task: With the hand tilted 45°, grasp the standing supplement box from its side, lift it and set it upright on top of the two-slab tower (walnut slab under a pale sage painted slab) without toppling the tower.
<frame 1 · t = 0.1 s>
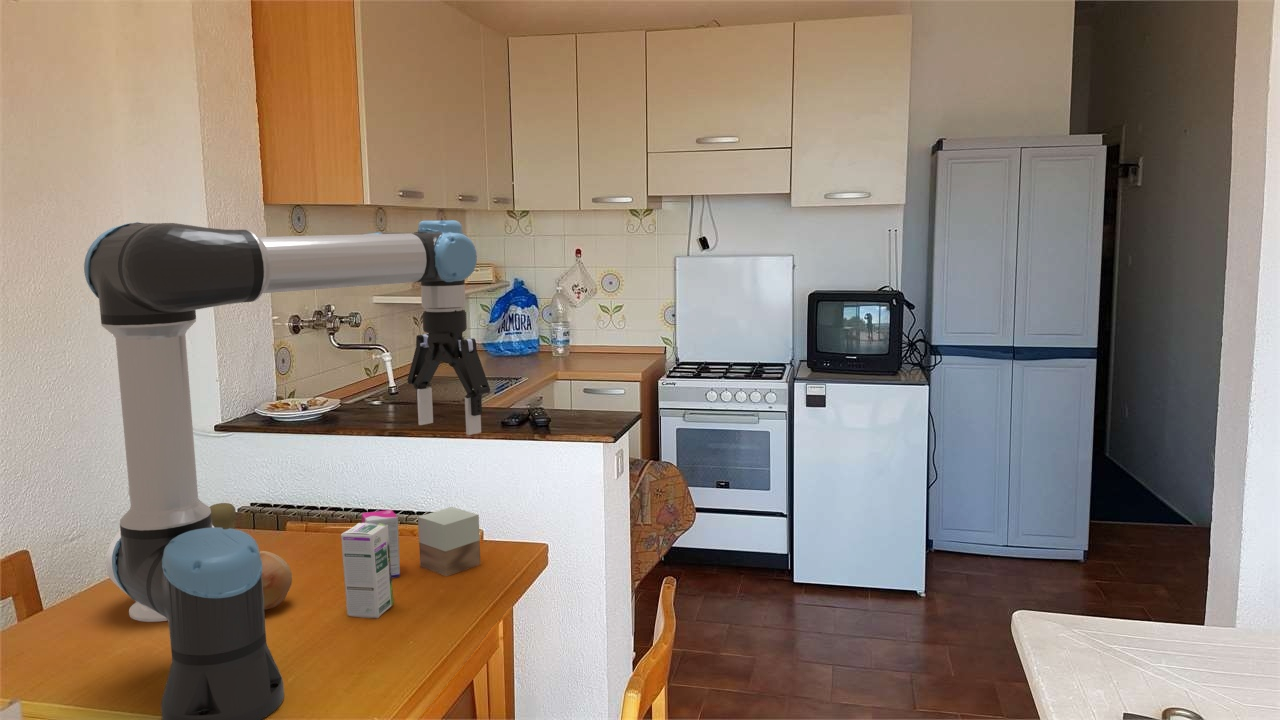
hand: (449, 428, 171), 28 cm above the table, tool pointing down, fingers open, 13 cm apart
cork: (224, 560, 187), on the table
decorative vase: (170, 607, 164), on the table
tower base slab: (450, 566, 182), on the table, touching tower top slab
supplement box: (382, 575, 178), on the table
onion: (263, 609, 163), on the table
tower top slab: (449, 541, 182), point 5 cm above the table, touching tower base slab
syrup box: (370, 612, 162), on the table
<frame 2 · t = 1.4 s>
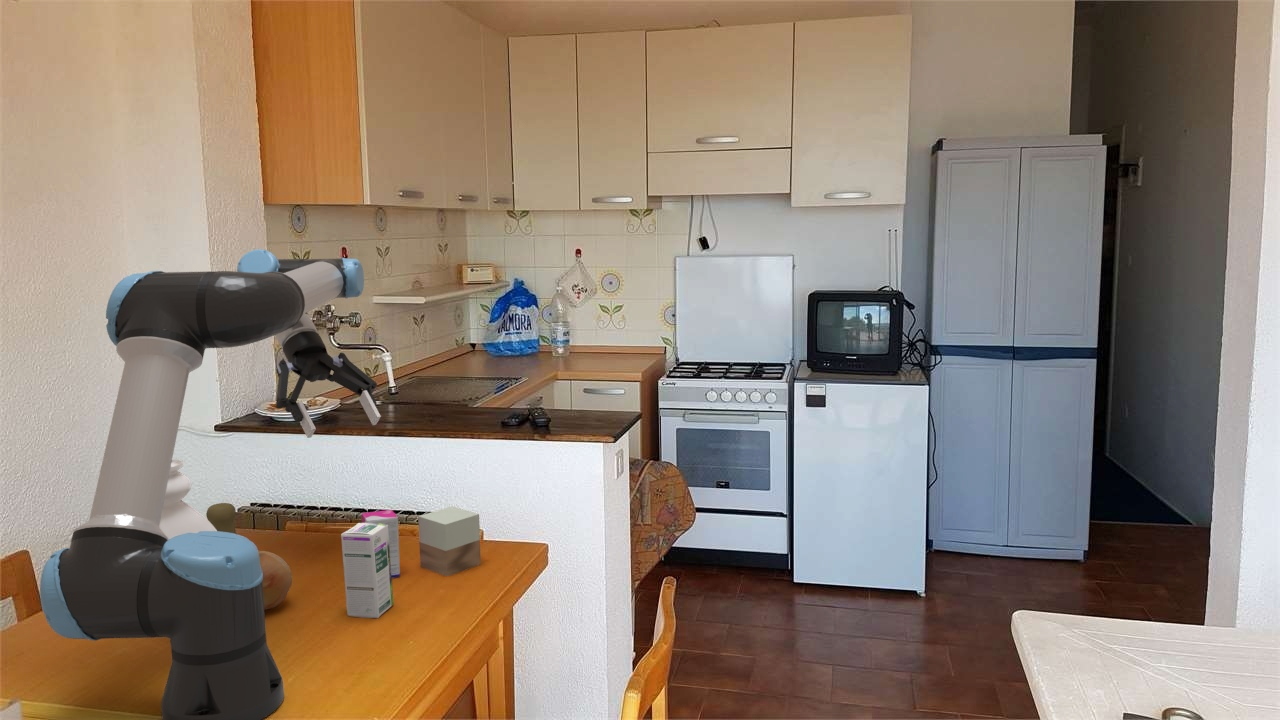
hand: (345, 427, 182), 26 cm above the table, tool tilted 45°, fingers open, 13 cm apart
nothing on the table moved.
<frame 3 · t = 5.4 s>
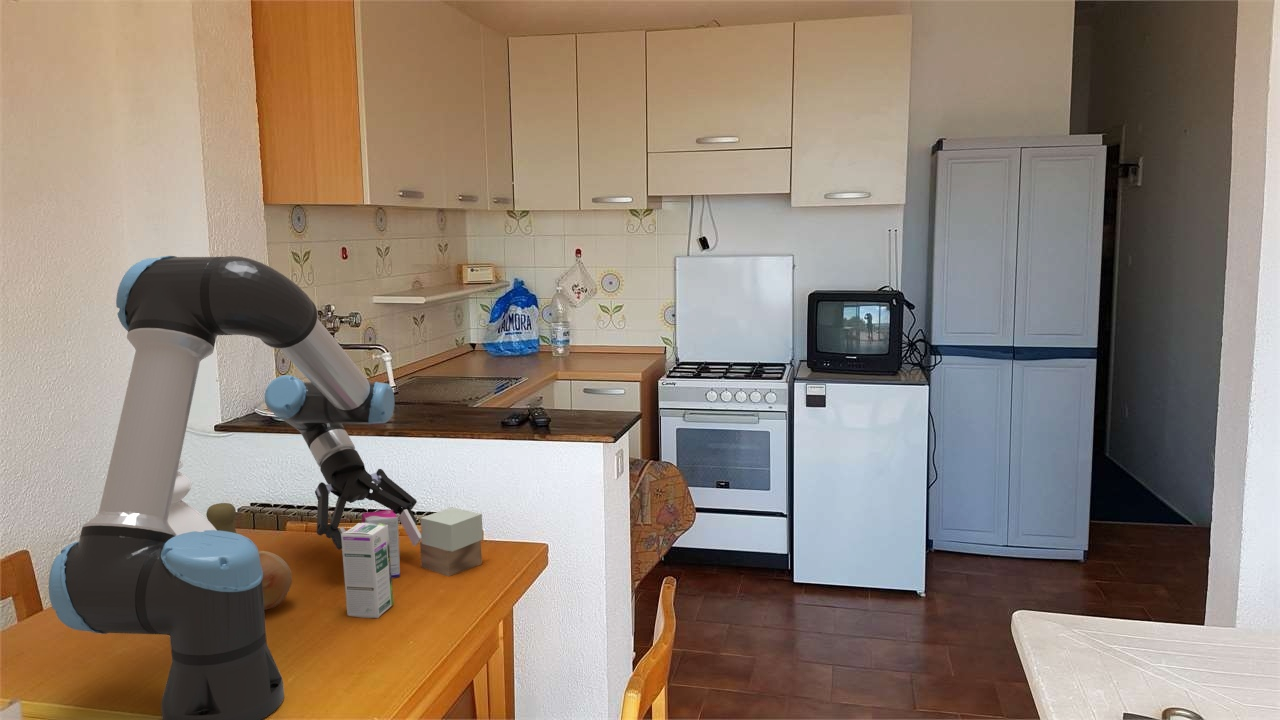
hand: (387, 551, 176), 5 cm above the table, tool tilted 45°, fingers open, 13 cm apart
tower base slab: (451, 566, 182), on the table
tower top slab: (452, 541, 181), point 5 cm above the table
everything else where it was.
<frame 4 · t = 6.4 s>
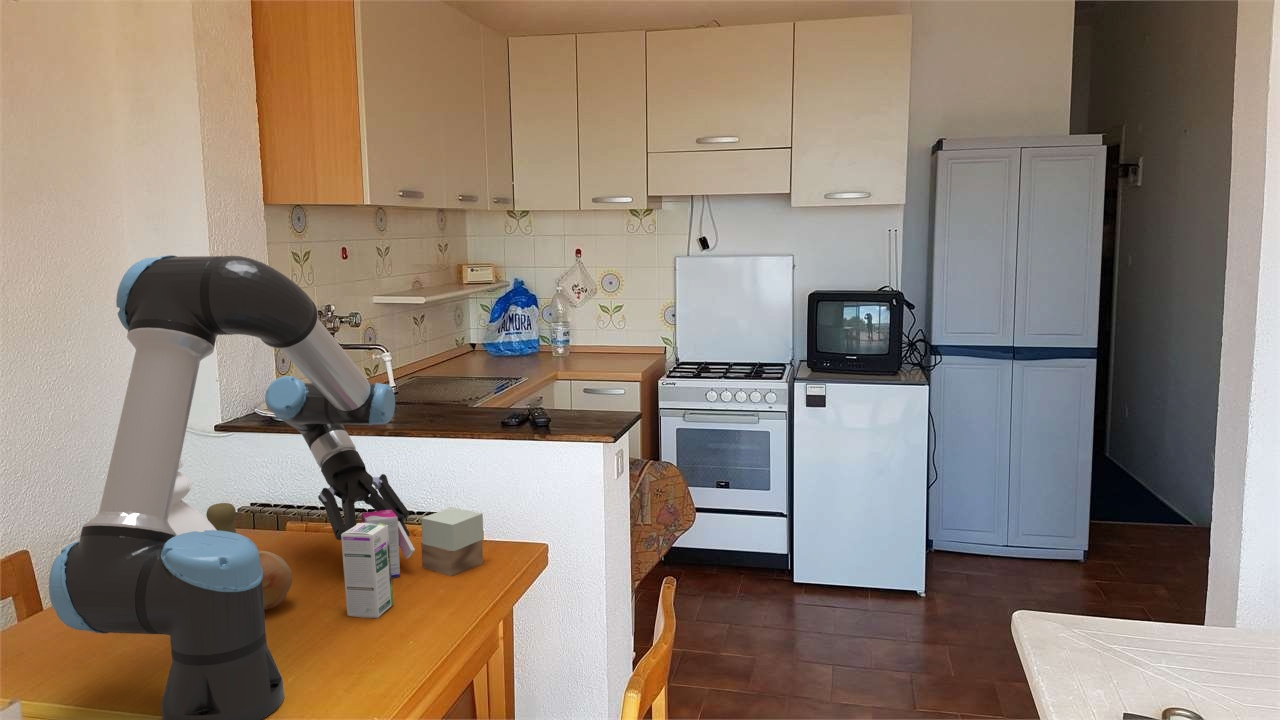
hand: (392, 559, 175), 4 cm above the table, tool tilted 45°, fingers closed on supplement box, 7 cm apart
tower base slab: (452, 566, 182), on the table, touching tower top slab
supplement box: (382, 575, 178), on the table, touching gripper
tower top slab: (453, 541, 181), point 5 cm above the table, touching tower base slab
everything else where it was.
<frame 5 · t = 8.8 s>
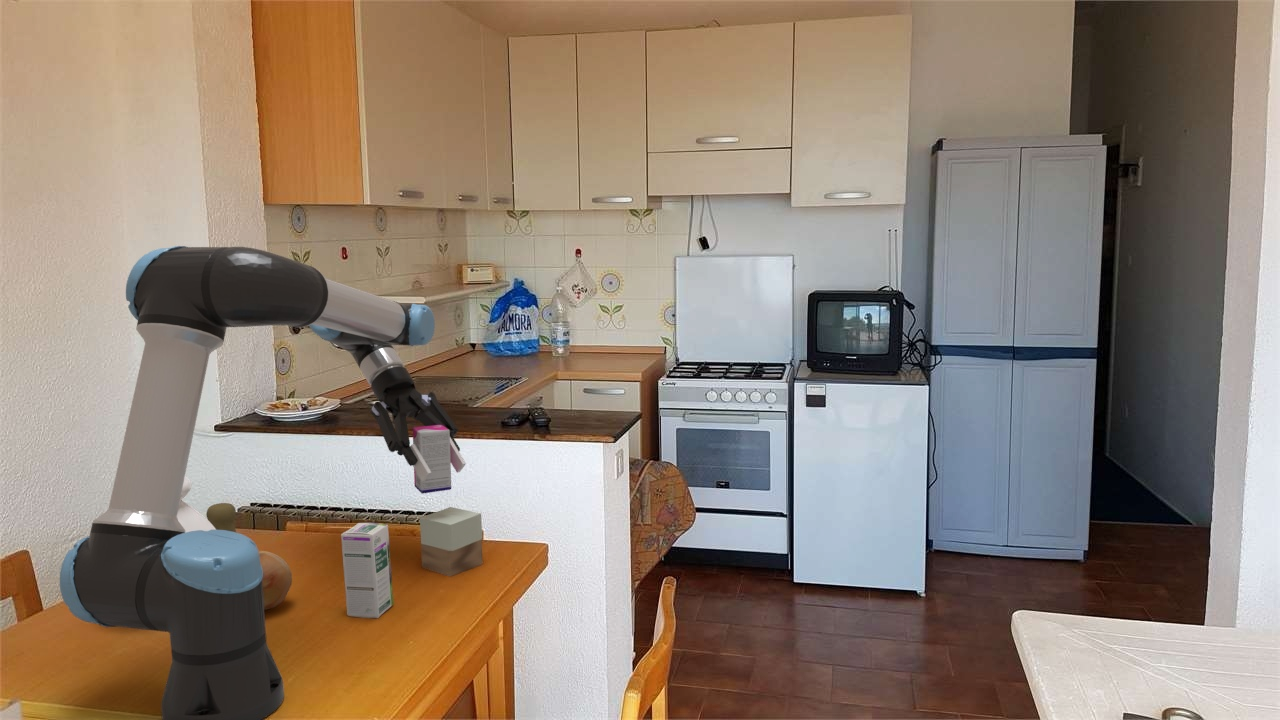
hand: (444, 472, 177), 19 cm above the table, tool tilted 45°, fingers closed on supplement box, 7 cm apart
tower base slab: (452, 566, 182), on the table
supplement box: (433, 489, 180), point 15 cm above the table, touching gripper
tower top slab: (451, 541, 181), point 5 cm above the table
everything else where it was.
when the fingers open (15 cm above the table, at t = 10.2 s): supplement box drops 1 cm, resting on tower top slab.
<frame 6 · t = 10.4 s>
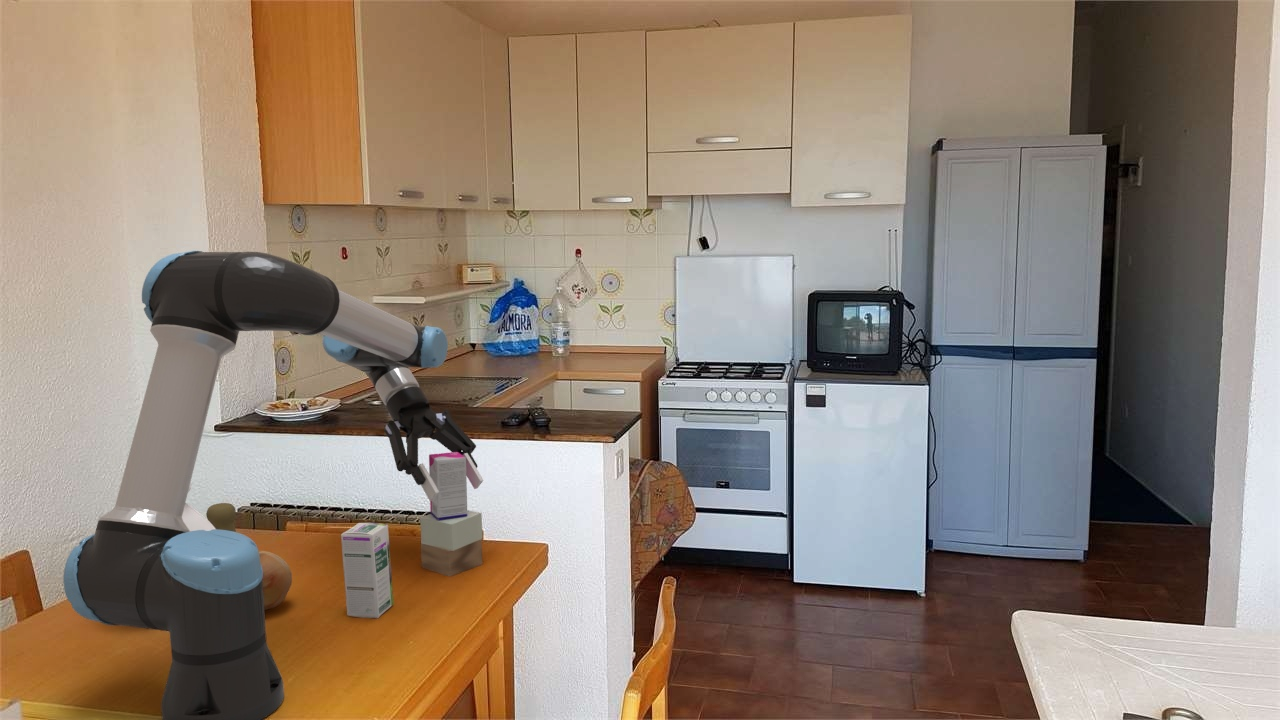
hand: (457, 490, 178), 15 cm above the table, tool tilted 45°, fingers open, 9 cm apart
tower base slab: (452, 566, 182), on the table, touching tower top slab
supplement box: (449, 515, 181), point 10 cm above the table, touching tower top slab
tower top slab: (452, 540, 182), point 5 cm above the table, touching supplement box, tower base slab
everything else where it was.
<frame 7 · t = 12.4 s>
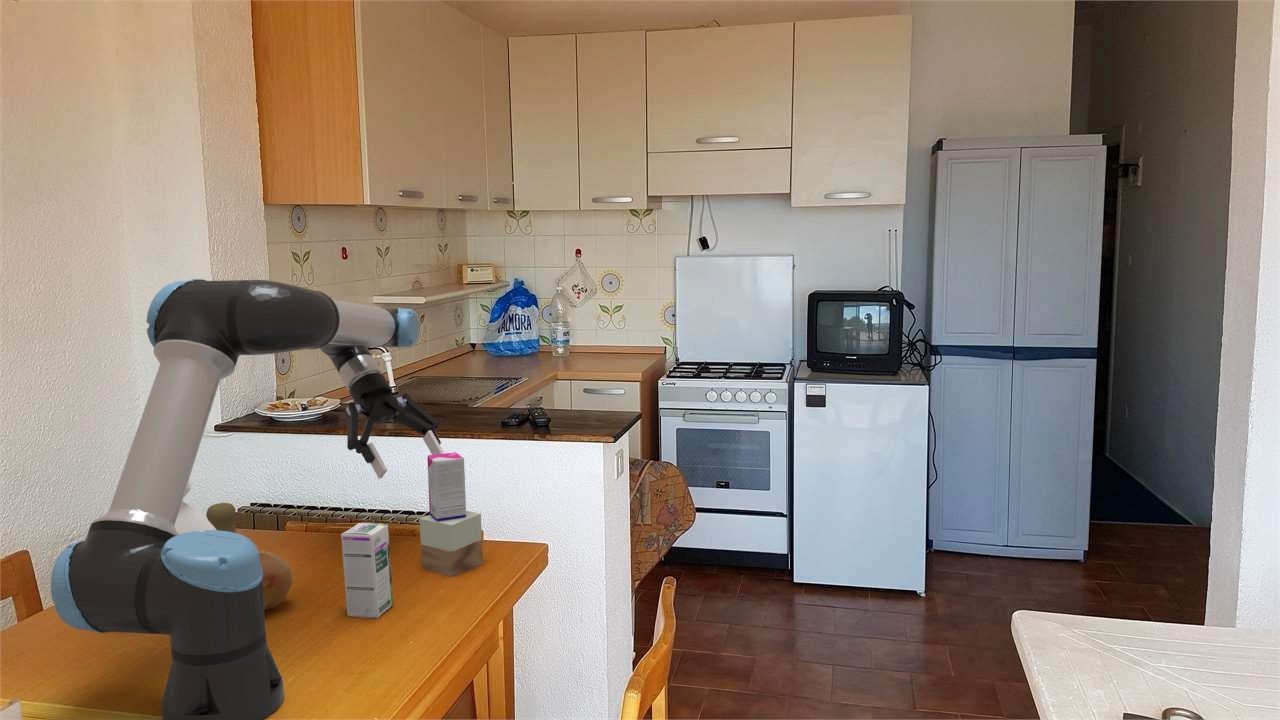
hand: (413, 467, 187), 17 cm above the table, tool tilted 45°, fingers open, 13 cm apart
nothing on the table moved.
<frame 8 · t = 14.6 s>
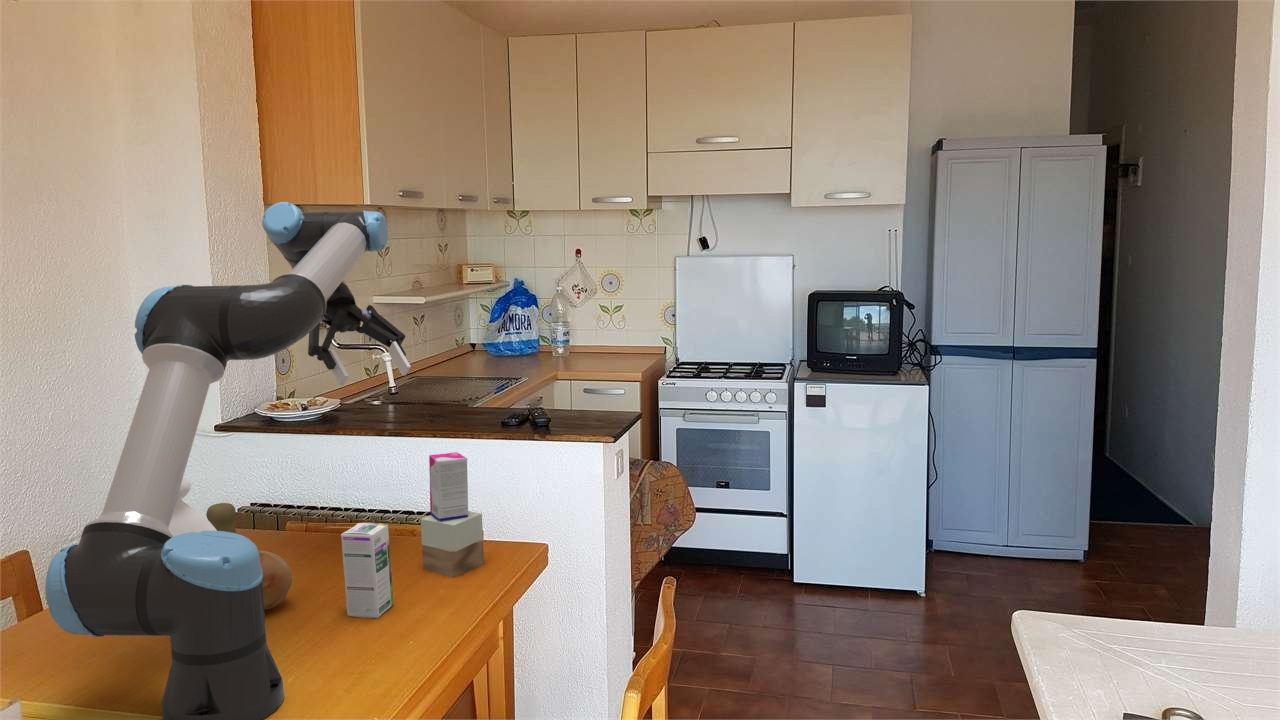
hand: (376, 375, 182), 36 cm above the table, tool tilted 45°, fingers open, 13 cm apart
nothing on the table moved.
at the end: supplement box 0.5 cm off-centre on the tower top slab, point 4.8 cm above the tower top slab's base; supplement box tilted 1°; tower top slab moved 1.0 cm from its start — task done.
